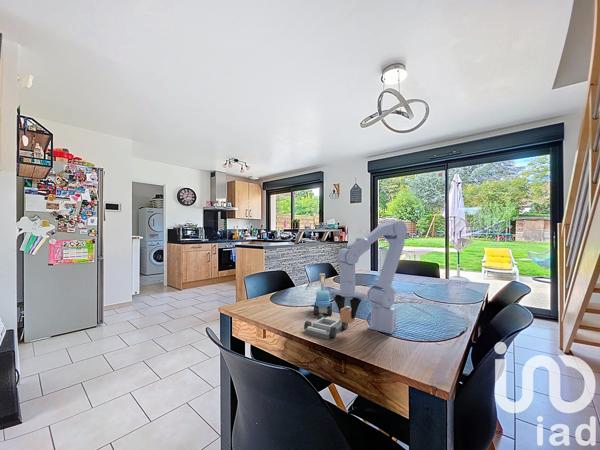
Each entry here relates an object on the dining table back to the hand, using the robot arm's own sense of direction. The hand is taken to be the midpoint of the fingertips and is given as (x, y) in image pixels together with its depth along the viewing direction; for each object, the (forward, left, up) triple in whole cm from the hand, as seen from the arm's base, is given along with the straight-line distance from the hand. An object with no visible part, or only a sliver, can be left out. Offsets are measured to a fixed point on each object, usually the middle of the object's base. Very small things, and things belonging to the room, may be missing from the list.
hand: (347, 316), depth 97 cm
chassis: (+9, 0, -7) cm, 11 cm away
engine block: (0, 0, -2) cm, 2 cm away
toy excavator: (+22, -20, -7) cm, 31 cm away
